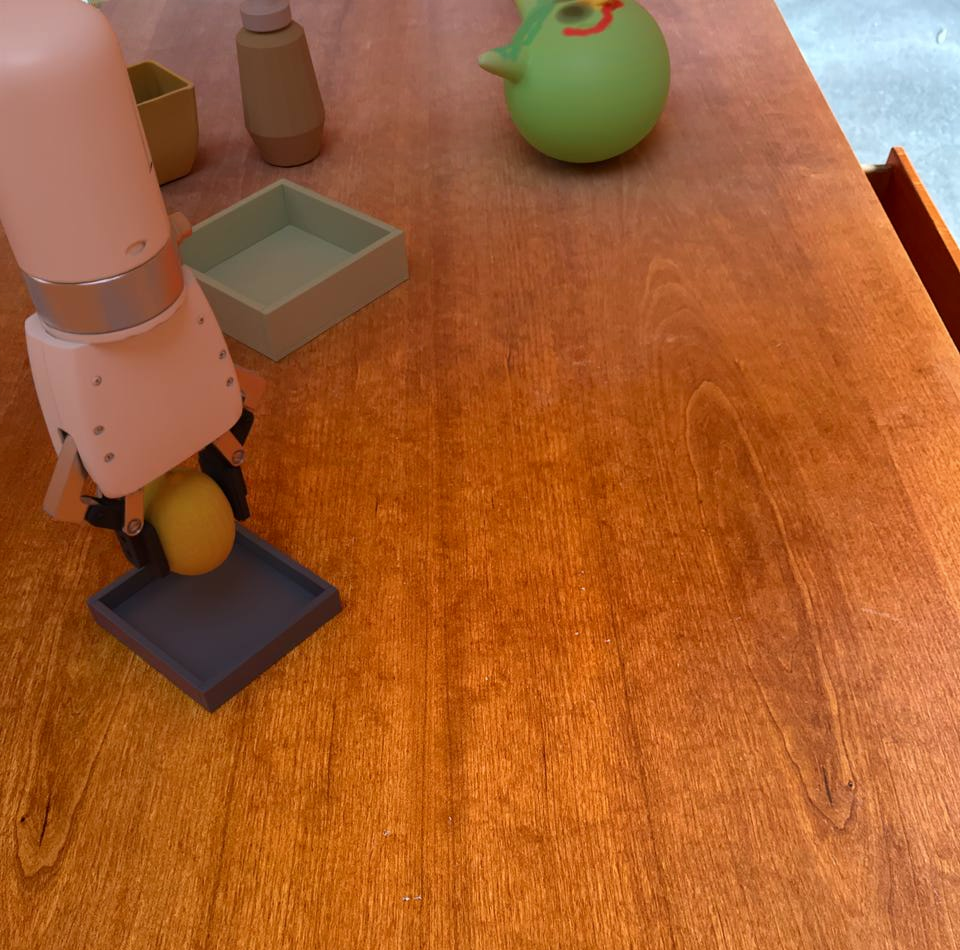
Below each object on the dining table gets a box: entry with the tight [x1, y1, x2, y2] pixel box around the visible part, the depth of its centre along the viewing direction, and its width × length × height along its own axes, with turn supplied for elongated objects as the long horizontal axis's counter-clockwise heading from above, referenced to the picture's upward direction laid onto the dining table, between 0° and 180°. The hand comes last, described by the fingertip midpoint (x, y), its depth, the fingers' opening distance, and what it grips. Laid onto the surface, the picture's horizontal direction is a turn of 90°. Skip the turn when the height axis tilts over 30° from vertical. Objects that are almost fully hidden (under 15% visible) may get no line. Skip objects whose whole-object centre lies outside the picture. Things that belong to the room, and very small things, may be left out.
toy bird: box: [477, 0, 671, 164], centre depth 112 cm, size 18×17×15 cm
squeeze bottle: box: [235, 0, 326, 167], centre depth 113 cm, size 8×8×18 cm
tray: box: [85, 519, 343, 714], centre depth 77 cm, size 12×11×2 cm
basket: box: [179, 177, 410, 363], centre depth 102 cm, size 16×16×4 cm
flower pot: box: [126, 58, 200, 186], centre depth 115 cm, size 9×9×9 cm
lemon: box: [144, 466, 235, 575], centre depth 72 cm, size 6×6×8 cm
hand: (191, 535), depth 72 cm, fingers closed on lemon, 5 cm apart
